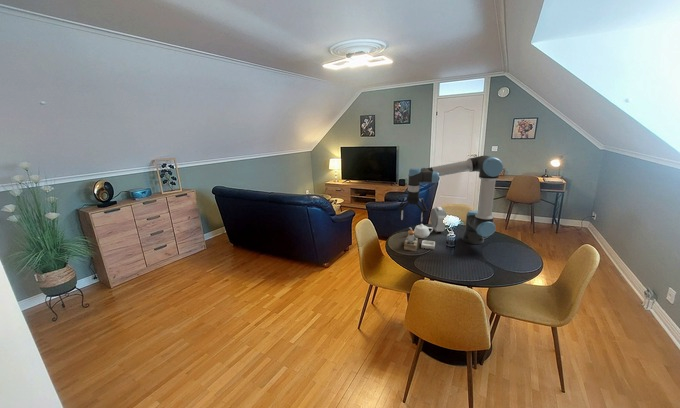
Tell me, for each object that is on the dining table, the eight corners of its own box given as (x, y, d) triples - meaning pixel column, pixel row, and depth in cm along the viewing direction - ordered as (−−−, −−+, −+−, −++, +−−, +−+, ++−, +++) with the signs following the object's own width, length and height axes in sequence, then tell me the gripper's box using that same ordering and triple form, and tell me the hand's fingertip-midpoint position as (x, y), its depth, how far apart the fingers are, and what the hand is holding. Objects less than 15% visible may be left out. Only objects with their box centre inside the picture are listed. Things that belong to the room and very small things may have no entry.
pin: (407, 246, 202) (408, 229, 198) (413, 247, 200) (414, 230, 197) (406, 248, 198) (407, 231, 194) (413, 249, 196) (414, 232, 193)
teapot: (411, 239, 213) (411, 227, 210) (405, 233, 225) (406, 222, 222) (435, 238, 215) (436, 226, 212) (429, 232, 227) (430, 220, 224)
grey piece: (446, 234, 222) (448, 210, 217) (435, 234, 222) (437, 210, 217) (438, 226, 240) (440, 204, 234) (428, 226, 240) (430, 204, 234)
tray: (422, 243, 206) (422, 240, 206) (434, 244, 203) (435, 241, 203) (421, 248, 198) (421, 244, 198) (434, 249, 195) (434, 246, 195)
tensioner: (406, 241, 210) (407, 233, 208) (417, 243, 207) (417, 235, 205) (403, 249, 197) (404, 240, 195) (415, 250, 194) (415, 242, 192)
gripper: (394, 191, 189) (393, 220, 195) (432, 193, 180) (429, 224, 186) (396, 188, 196) (394, 216, 201) (432, 191, 187) (430, 220, 193)
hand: (411, 220), depth 194 cm, fingers open, 13 cm apart
